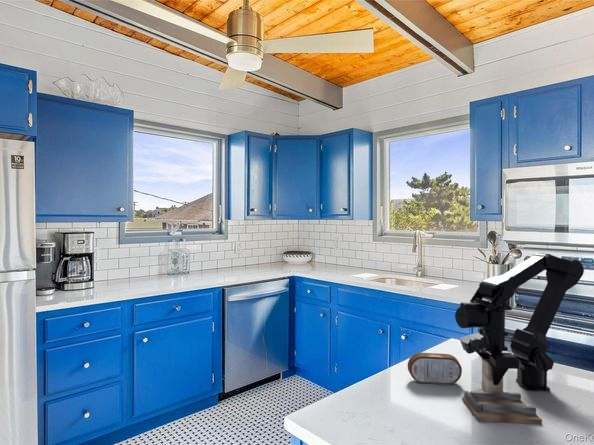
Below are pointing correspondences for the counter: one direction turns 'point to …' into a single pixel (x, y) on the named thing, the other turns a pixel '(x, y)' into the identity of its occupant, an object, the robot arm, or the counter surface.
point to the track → (500, 407)
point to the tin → (434, 368)
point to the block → (489, 378)
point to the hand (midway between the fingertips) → (492, 381)
